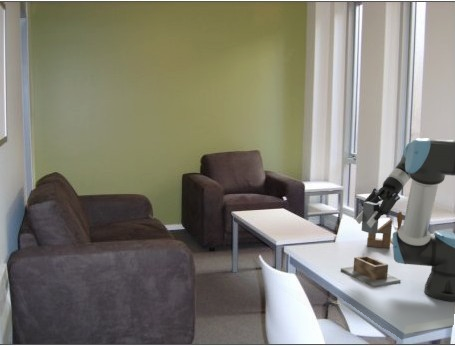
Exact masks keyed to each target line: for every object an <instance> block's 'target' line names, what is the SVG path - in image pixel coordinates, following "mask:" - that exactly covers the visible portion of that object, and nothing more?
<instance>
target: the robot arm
mask: <svg viewBox="0 0 455 346" xmlns="http://www.w3.org/2000/svg"><path fill="white" fill-rule="evenodd" d="M446 176H453V177H454V176H455V139H439V138H438V139H437V138H436V139H435V138H434V139H433V138H428V137H426V138H415V139H413V140H412V141H410V142H408V143H407V144H406V146H405V147H404V149H403V152H402V156H401V159H400V161H399V162H398V164H397V165H396V166H395V168H394V169H393V170H392V171H391V172H390V173H389V175H388V176H387V177H386V179H385V180H384V181H383V183H382V186H381V187H380V188H379V189H376V187H375V188H372V189H373V190H372V191H371V193H370V194H369V195H368V196H367V197H366V199H365V200H363V202H372V203H376V204H379V203H380V202H381V203H380V204H379V209H377V210H378V211H376V212H375V213H374V214H373V215H372V217H371V218H370V219H369V220H368V222H367V224H368V225H369V227H372V226H373V225H374V223H375V222H376V221H377V220H378V221H379V219H380V218H381V217H382V216H384V215H385V216H388V215H389V213H390V211H392V209H393V207H394V206H395V205H396V203H397V202H398V201H399V200H400V199H401V196H400V195H399V194H400V192H401V191H402V190H403V189H404V187H405V186H406V185H407V183H408V182H409V181H410V179H411V181H410V183H411V184H410V189H409V194H408V198H407V205H406V210H405V215H404V221H403V224H401V227H400V228H399V230H398V232H395V231H393V232H392V238H393V243H392V251H393V252H392V253H393V260H394V262H395V263H398V264H404V265H411V266H423V267H424V266H427V267H431V269H430V273H429V275H428V277H427V279H426V282H425V283H424V287H423V288H424V289H423V290H424V293H425V294H426V295H428V296H430V297H432V298H435V299H438V300H441V301H446V302H455V233H453V232H449V231H443V230H435V232H434V234H431V233H430V230H429V229H430V228H429V226H430V222H431V218H432V213H433V210H434V209H433V208H434V205H435V199H436V196H437V190H438V187H439V185H440V184H442V183H443V182H444V181H445V177H446ZM363 202H362V203H361V205H360V206H361V207H362V209H361V210H360V212H359V213H358V215H357V217H356V218H354V219H355V221H356V223H357V224H362V217H363Z"/></svg>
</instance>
